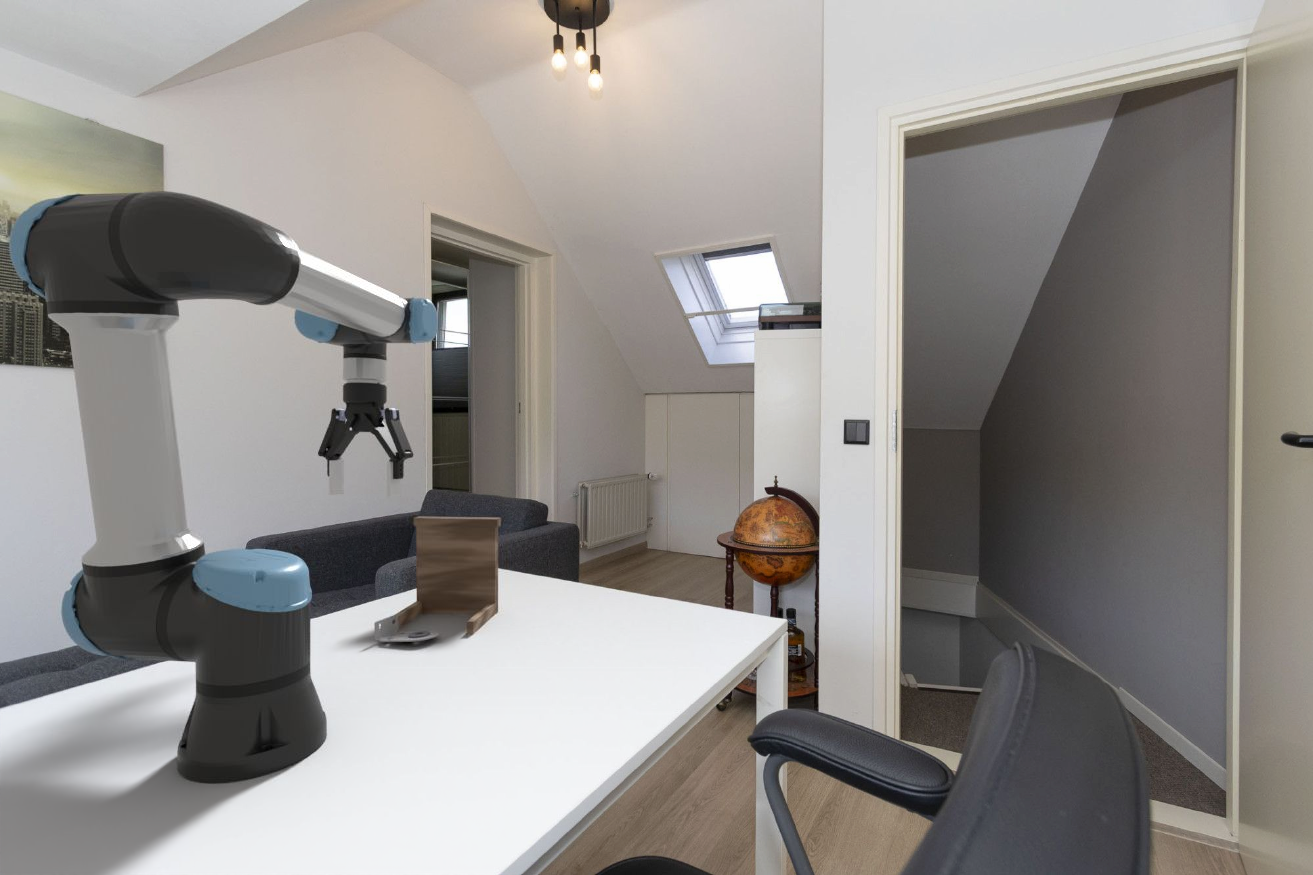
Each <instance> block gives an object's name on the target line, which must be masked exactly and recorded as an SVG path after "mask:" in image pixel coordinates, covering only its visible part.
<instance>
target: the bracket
mask: <svg viewBox="0 0 1313 875" xmlns="http://www.w3.org/2000/svg"><path fill="white" fill-rule="evenodd" d="M394 619H395V623H394V624H392V621H393V620H394ZM439 635H440V634H439V632H438V631H434V630H433V631H432V630H431V631H429V630H428V631H427V630H424V631H422V630H421V631H416V630H415V631H400V632H399V629H398V615H395V614H393V615H391V616H388V617H385V618H383V619H378V620H376V621H375V622H374V640H375V641H379V643H403V642H405V643H406V642H407V643H408V642H411V643H412V642H413V643H414V642H415V643H417V642H423V641H426V640H427V641H428V640H430V639H435V638H436V637H438V636H439Z"/></svg>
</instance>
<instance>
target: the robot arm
mask: <svg viewBox="0 0 1313 875" xmlns="http://www.w3.org/2000/svg"><path fill="white" fill-rule="evenodd" d="M8 247H9V255H10V260H11V262H12V263H11V264H12V266H13V268H14V270H15V272H16V275H18V277H19V278H20V280H21V281H25V283H27V284H28V288H29V290H31V291H32V292H33V293H34V294H36V295H37V296H39V297H41V298H44V299H45V304H46V309H47V316H48V317H47V318H48V319H50V320H51V321H52V322H54V323H56V325H58V326H60V327H62V328H63V329H64V330H65V331H66V333H68V334H69V343H70V349H71V357H72V366H73V372H74V380H75V387H76V394H77V403H78V410H79V418H80V424H81V432H82V440H83V446H84V447H83V448H84V454H85V462H86V464H85V465H86V470H87V476H88V478H87V479H88V484H89V485H88V486H89V492H90V493H89V494H90V499H91V507H92V508H91V509H92V516H93V523H94V529H95V530H94V531H95V537H96V541H95V542H94V544H93V545H92V546H91V547H90V548H89V549H88V550H87V551H86V552H85V553H84V554H83V555H82V556H81V566H82V569H81V570H79V572H77V573H76V574H75V576H73V578H72V580H71V581H70V583H69V584H70V586H71V587H70V588H69V589H68V590H66V591H65V592H64V594H63V598H62V601H61V611H60V612H61V620H62V621H61V622H62V624H63V627H64V629H65V632H66V633H67V635H68V636H69V638H70V640H72V641H73V642H74V644H76V646H78V647H79V648H81V649H82V650H85V651H87V652H88V653H91V654H94V655H98V656H105V657H109V658H110V657H111V658H114V659H116V660H122V661H123V660H125V661H127V660H128V661H129V660H131V661H133V660H151V661H152V660H153V661H167V662H168V661H170V662H184V663H185V662H188V663H195V696H194V701H193V704H192V706H191V710H190V712H189V715H188V718H187V720H186V724H185V726H184V729H183V732H182V736H181V739H180V740H179V743H178V746H177V751H176V753H177V755H176V756H177V758H176V759H177V763H176V764H177V769H176V770H177V772H178V774H179V775H180V776H181V777H182V778H184V779H186V780H188V781H192V782H194V783H195V782H196V783H202V784H203V783H204V784H225V783H226V784H227V783H236V782H240V781H241V782H242V781H247V780H251V779H256V778H260V777H264V776H267V775H270V774H275V773H276V772H279V771H282V770H284V769H285V770H286V769H287V768H289V767H291V766H294V765H296V764H298V763H300V762H302V761H304V760H305V759H307V758H309V757H310V756H312V755H313V754H314V753H316V752H317V751H318V750H319V749H320V748H322V746H323V745H324V743H325V742H326V740H327V736H328V734H327V732H328V728H327V725H328V724H327V723H328V722H327V714H326V712H325V711H324V710H323V706H322V703H321V700H320V697H319V695H318V693H317V692H318V691H317V689H316V687H315V685H314V682H313V679H312V676H311V672H312V671H311V605H312V604H311V601H312V596H313V595H312V594H313V592H312V588H311V582H310V570H309V567H308V565H307V563H306V562H305V561H304V560H303V559H302V558H301V557H300V556H298V555H295V554H293V553H291V552H286V551H282V550H276V549H265V548H253V549H247V548H233V549H232V548H229V549H223V550H217V551H212V552H209V553H207V554H206V551H205V550H206V548H205V541H204V538H203V536H201V535H200V534H197V533H196V532H194V531H192V530H191V529H190V528H189V527H188V522H187V513H186V512H187V511H186V505H185V497H184V496H185V495H184V494H185V493H184V487H183V479H182V477H183V476H182V469H181V460H180V451H179V444H178V443H179V442H178V435H177V434H178V433H177V427H176V426H177V425H176V416H175V415H176V414H175V408H174V397H173V390H172V380H171V371H170V364H169V355H168V354H169V353H168V346H167V337H166V334H167V333H168V331H169V330H170V329H171V328H172V327H173V326H174V325H175V324H176V323H177V322H178V321H180V311H179V303H178V301H190V300H191V301H192V300H193V301H194V300H234V301H243V302H246V303H249V304H252V305H257V306H272V305H275V304H279V305H283V306H284V307H288V308H291V309H294V324H295V328H296V329H297V331H298V332H299V334H301V335H302V336H303V337H305V338H306V339H309V340H311V341H315V342H317V343H319V344H322V343H324V344H328V345H332V346H333V345H334V346H337V347H338V346H339V347H342V348H343V349H342V351H343V353H342V354H343V356H342V358H343V359H342V360H343V362H342V379H343V380H344V381H346V383H343V384H342V401H343V403H344V404H346V406H345V408H332V409H331V414H330V421H329V424H328V426H327V427H326V431H325V434H324V437H323V440H322V441H321V444H320V445H319V449H318V451H317V455H318V456H319V457H322V458H325V459H326V461H327V462H326V463H327V464H326V468H327V471H326V474H327V477H328V479H329V480H328V482H329V483H328V489H329V490H328V491H329V492H328V494H329V496H330V495H331V496H334V495H342V494H344V476H345V474H344V472H345V470H344V466H345V465H344V464H345V463H344V459H343V457H342V456H343V454H344V452H345V451H346V449H348V447H349V445H350V444H351V442H352V441H353V440H354V438H355V437H356V435H358V434H359V433H370V434H372V435H374V436H375V437H376V439H377V441H378V442H379V444H380V446H381V447H382V448H383V450H384V451H385V454H386V455H387V456H388V458H389V459H388V461H387V463H386V467H387V468H386V498H391V499H392V498H399V497H401V496H402V494H401V492H402V490H401V489H402V488H401V487H402V483H401V480H403V479H404V477H405V475H404V474H405V473H404V463H405V461H406V460H409V459H411V458H413V457H414V453H413V450H412V447H411V444H410V442H409V440H408V437H407V435H406V431H405V430H404V427H403V425H402V422H401V418H400V410H399V408H396V407H393V408H392V407H386V408H385V404H386V403H387V401H388V400H387V396H388V387H387V386H386V384H384V383H385V382H387V369H388V368H387V366H388V364H387V363H388V360H387V359H388V358H387V347H388V345H387V344H412V345H416V344H423V343H424V344H425V343H430V342H431V341H433V340H434V339H435V338H436V336H437V333H438V329H439V315H438V312H437V308H436V306H435V305H434V303H433V302H432V301H431V300H430V299H428V298H424V297H423V298H422V297H421V298H420V297H416V296H413V297H403V296H400V295H397V294H395V293H393V292H391V291H389V290H386V289H385V288H383V287H380V286H378V285H376V284H374V283H372V282H370V281H367V280H365V279H364V278H362V277H359V276H357V275H355V274H353V273H351V272H348V271H347V270H344V269H342V268H340V267H338V266H336V265H333V264H332V263H331V262H328V261H326V260H324V259H323V258H322V259H321V258H319V257H317V256H316V255H313V254H311V253H310V252H309V253H308V252H307V251H305V250H303V249H301V248H299V247H298V245H297V244H296V243H295V241H294V240H293V238H292V237H290V236H289V234H287V233H286V232H284V231H282V230H280V229H278V228H275V227H274V226H272V225H270V224H268V223H266V222H264V221H262V220H260V219H257V218H255V217H252V216H251V215H249V214H246V213H243V212H241V211H238V210H237V209H234V208H231V207H228V206H225V205H223V204H220V203H217V202H215V201H212V200H208V199H205V198H201V197H198V196H195V195H192V194H187V193H182V192H175V191H167V190H166V191H165V190H162V191H161V190H159V191H158V190H157V191H155V190H153V191H145V192H118V193H117V192H115V193H114V192H113V193H75V194H67V195H64V196H60V197H54V198H48V199H44V200H40V201H38V202H35V203H34V204H32V205H31V206H29V207H28V208H27V209H26V210H24V211H22V213H21V214H20V215H19V216H18V217H17V219H16V221H15V222H14V224H13V227H12V228H11V231H10V236H9V244H8ZM384 420H385V421H384Z"/></svg>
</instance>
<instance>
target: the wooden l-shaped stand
mask: <svg viewBox="0 0 1313 875" xmlns="http://www.w3.org/2000/svg"><path fill="white" fill-rule="evenodd" d="M501 523H502V517H485V516H482V517H479V516H478V517H477V516H419V515H418V516H416V517H413V527H415V528H416V533H415V534H416V538H415V539H416V541H415V542H416V543H415V544H416V547H415V548H416V601H414V602H413V603H411V604H409V605H408V606H406V607H405V608H404V609H402V610H400V611H398V612H397V613H395V614H394V615H398V630H400V629H401V628H403V627H405V626H406V625H407V624H409V623H410V622H412V621H413V620H415V619H416V618H417V617H420V615H422V614H426V615H427V614H428V615H429V614H430V615H470V616H471V615H473V616H472V617H470V618H469V620H467V621H466V635H472V636H473V635H475V634H476V633H477V632H479V630H480V629H481V628H482V627H483V626H485V624H487V622H489V621H490V620H491V619H492V618H493V617H494V616H495V614H496V615H497V614H498V613H499V528H500V527H501V525H502V524H501ZM394 623H395V619H394V620H393V621H392V624H394Z"/></svg>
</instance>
